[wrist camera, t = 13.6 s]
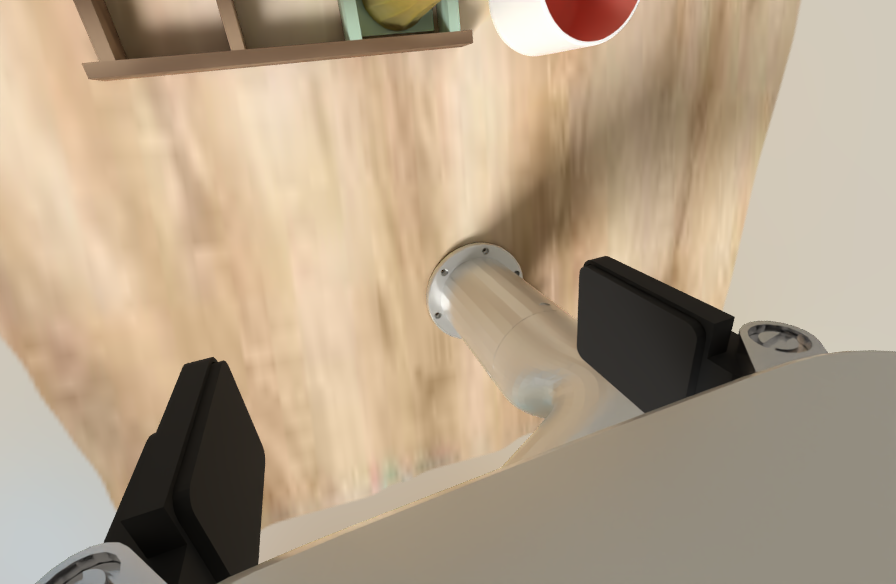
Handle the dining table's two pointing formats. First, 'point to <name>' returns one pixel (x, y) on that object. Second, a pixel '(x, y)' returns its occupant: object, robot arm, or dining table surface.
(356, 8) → the wooden compartment tray
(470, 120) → the dining table surface
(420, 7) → the vase
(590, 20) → the cup
